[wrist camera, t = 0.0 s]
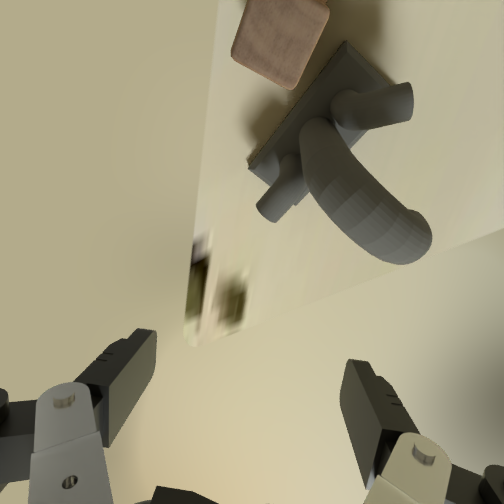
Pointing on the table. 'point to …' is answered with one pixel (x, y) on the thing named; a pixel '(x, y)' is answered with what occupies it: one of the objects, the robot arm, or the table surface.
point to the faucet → (342, 159)
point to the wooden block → (279, 37)
